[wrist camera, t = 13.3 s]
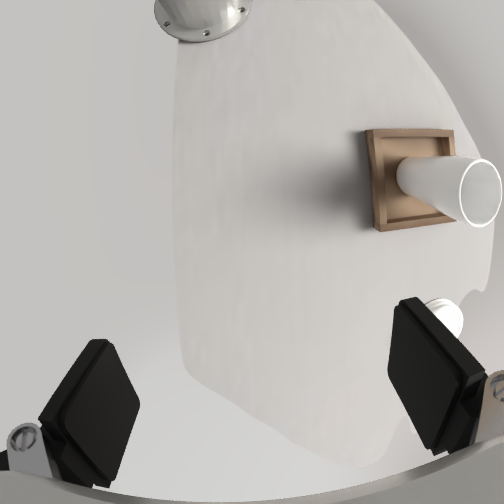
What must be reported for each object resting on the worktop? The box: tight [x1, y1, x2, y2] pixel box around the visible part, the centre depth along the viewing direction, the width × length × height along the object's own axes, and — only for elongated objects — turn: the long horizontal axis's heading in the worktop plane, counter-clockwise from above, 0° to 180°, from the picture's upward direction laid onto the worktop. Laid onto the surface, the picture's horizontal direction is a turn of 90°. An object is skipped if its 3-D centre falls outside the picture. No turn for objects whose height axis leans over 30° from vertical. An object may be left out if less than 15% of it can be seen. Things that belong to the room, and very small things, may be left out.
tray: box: [365, 129, 457, 232], centre depth 36 cm, size 13×13×2 cm
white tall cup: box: [396, 155, 502, 227], centre depth 29 cm, size 7×7×15 cm
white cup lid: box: [426, 298, 463, 338], centre depth 43 cm, size 10×10×4 cm
